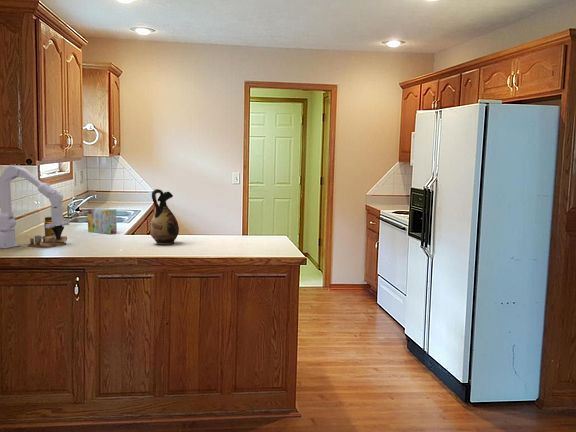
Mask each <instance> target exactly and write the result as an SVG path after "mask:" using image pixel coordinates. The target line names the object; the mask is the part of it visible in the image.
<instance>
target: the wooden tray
mask: <svg viewBox="0 0 576 432" xmlns="http://www.w3.org/2000/svg"><path fill="white" fill-rule="evenodd" d="M42 237H43V239H42V242H40V239H36V243H35V237H33V238H30V239H29V242H30V243H28V244H27V247H30V248H37V249H38V248H39V249H50V248H56V247H61V246H66V245H67V241H65V242H45V235H43V236H42Z"/></svg>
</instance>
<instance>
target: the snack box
mask: <svg viewBox="0 0 576 432" xmlns="http://www.w3.org/2000/svg"><path fill="white" fill-rule="evenodd" d="M86 211H87V230H88V231H87V232H88V233H95V234H104V235H105V234H106V235H114V234H115V235H116V234H118V233H117V232H118V231H117V229H118V227H117V208H116V209H115V208H114V209H113V208H100V207H99V208H98V207H91V208H90V207H88V208H87V209H86Z"/></svg>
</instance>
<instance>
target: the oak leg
mask: <svg viewBox="0 0 576 432" xmlns="http://www.w3.org/2000/svg"><path fill="white" fill-rule="evenodd" d="M67 241H68V236H67V235H66V236H65V235H61V239H60V240H56V237H45V242H67Z"/></svg>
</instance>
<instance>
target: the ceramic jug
mask: <svg viewBox="0 0 576 432" xmlns="http://www.w3.org/2000/svg"><path fill="white" fill-rule="evenodd" d="M156 194H159V196H158V198H157V197H156ZM173 197H174V195H173V194H172V193H171V192H170V191H163V190H162V189H158V188H155V189H154V190H152V192H151V200H152V202H153V204H154V205H153V206H154V207H155V212H154V214H153V216H152V218H151V221H150V225H149V233H150V236H151V238H152V239H153V240H154V241H155V243H156V245H164V246H165V245H167V246H168V245H174V244H175V241H176V239H177V237H178V235H179V232H180V228H179V223H178V221H177V220H178V219H177V218H176V217H175V214H174V213H173V212H172V211H171V209H170V208H169V207H168V205H167V201H168V200H170V199H172V198H173ZM158 202H159V204H158Z"/></svg>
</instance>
